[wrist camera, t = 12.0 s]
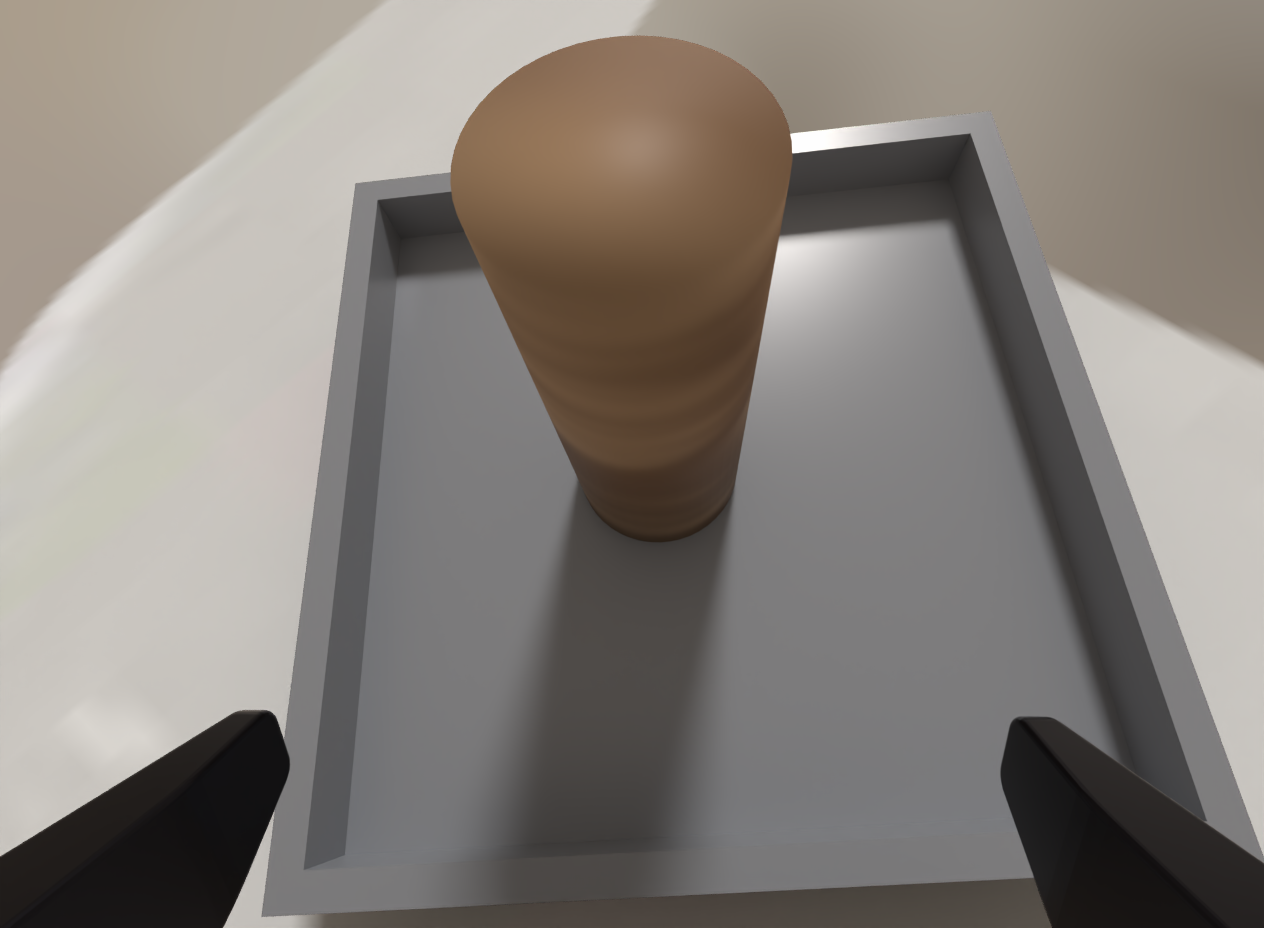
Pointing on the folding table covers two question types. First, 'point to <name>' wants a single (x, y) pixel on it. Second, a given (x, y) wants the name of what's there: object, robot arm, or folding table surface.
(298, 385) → the folding table surface
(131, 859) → the robot arm
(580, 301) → the walnut part
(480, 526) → the parts tray
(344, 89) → the folding table surface
